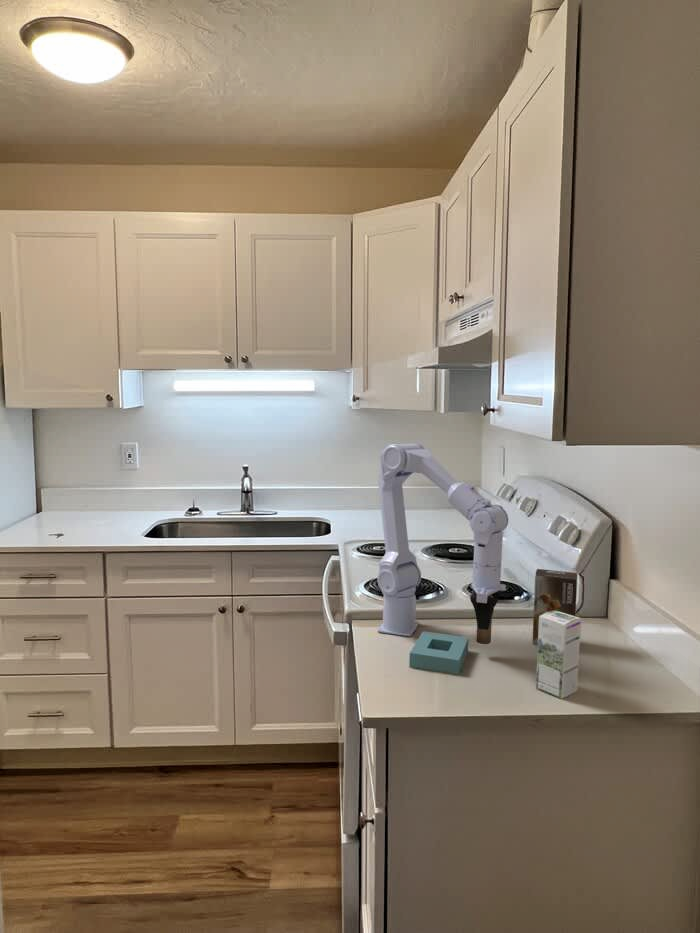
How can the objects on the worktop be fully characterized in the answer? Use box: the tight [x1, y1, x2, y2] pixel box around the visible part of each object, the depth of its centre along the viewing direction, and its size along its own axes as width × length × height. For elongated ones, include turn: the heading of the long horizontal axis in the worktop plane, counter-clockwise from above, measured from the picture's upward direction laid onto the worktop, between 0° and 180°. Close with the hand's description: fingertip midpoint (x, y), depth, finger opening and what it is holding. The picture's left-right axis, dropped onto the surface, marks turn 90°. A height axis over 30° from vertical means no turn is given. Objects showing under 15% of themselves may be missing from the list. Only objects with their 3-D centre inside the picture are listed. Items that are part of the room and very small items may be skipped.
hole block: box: [408, 630, 470, 676], centre depth 134 cm, size 13×10×3 cm
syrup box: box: [535, 611, 582, 700], centre depth 120 cm, size 6×6×14 cm
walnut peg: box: [475, 595, 493, 645], centre depth 135 cm, size 3×3×10 cm
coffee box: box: [531, 568, 578, 646], centre depth 144 cm, size 9×6×16 cm
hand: (484, 626), depth 135 cm, fingers closed on walnut peg, 3 cm apart
